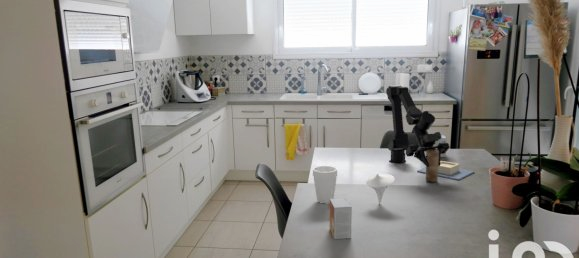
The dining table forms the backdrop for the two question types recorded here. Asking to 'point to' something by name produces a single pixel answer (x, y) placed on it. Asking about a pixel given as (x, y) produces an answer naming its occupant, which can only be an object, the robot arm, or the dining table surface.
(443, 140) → the light bulb box
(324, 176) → the foam cup
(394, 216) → the dining table surface
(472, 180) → the dining table surface
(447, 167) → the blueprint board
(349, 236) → the small box
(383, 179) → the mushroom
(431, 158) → the walnut column
